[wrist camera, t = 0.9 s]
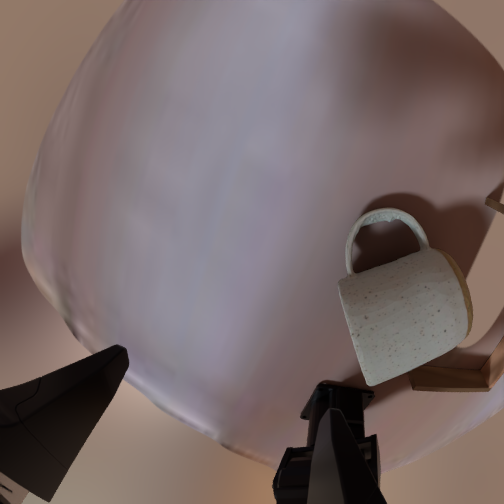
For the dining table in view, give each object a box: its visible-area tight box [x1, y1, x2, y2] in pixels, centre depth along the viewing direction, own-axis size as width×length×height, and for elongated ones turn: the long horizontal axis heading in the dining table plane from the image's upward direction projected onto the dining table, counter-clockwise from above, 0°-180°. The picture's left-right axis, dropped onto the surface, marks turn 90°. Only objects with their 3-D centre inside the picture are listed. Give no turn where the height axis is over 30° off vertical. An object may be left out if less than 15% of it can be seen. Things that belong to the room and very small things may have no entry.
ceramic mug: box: [338, 208, 473, 386], centre depth 15 cm, size 11×8×8 cm
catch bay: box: [408, 197, 504, 392], centre depth 16 cm, size 17×12×3 cm
